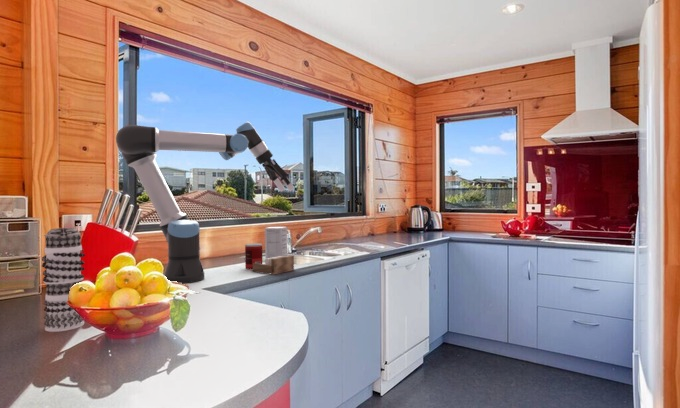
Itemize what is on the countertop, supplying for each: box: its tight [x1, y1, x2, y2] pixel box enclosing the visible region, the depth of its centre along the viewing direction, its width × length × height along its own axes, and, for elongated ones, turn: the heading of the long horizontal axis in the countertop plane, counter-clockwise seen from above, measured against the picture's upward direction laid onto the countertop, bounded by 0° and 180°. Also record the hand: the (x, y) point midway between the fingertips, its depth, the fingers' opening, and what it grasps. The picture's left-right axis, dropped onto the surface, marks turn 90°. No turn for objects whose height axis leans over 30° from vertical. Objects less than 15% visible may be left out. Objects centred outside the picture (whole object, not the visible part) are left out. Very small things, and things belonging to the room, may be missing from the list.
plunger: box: [264, 256, 283, 265], centre depth 180 cm, size 9×2×6 cm, turn 144°
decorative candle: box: [41, 227, 86, 333], centre depth 104 cm, size 9×9×25 cm
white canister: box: [264, 226, 288, 259], centre depth 215 cm, size 10×9×17 cm
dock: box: [252, 254, 295, 275], centre depth 180 cm, size 12×13×6 cm
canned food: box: [244, 242, 263, 270], centre depth 188 cm, size 8×8×11 cm
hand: (287, 190), depth 194 cm, fingers open, 13 cm apart
